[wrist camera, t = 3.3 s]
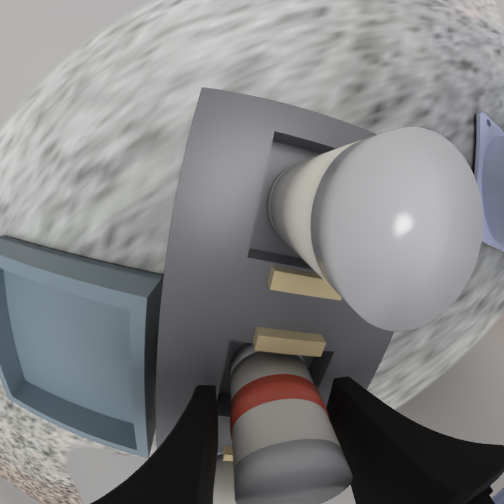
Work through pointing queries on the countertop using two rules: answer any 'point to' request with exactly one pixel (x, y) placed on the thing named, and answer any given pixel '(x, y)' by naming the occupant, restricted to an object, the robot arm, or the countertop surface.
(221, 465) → the fuse
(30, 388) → the tray
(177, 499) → the robot arm
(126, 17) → the countertop surface
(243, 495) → the marked fuse
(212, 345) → the fuse holder
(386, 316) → the fuse
